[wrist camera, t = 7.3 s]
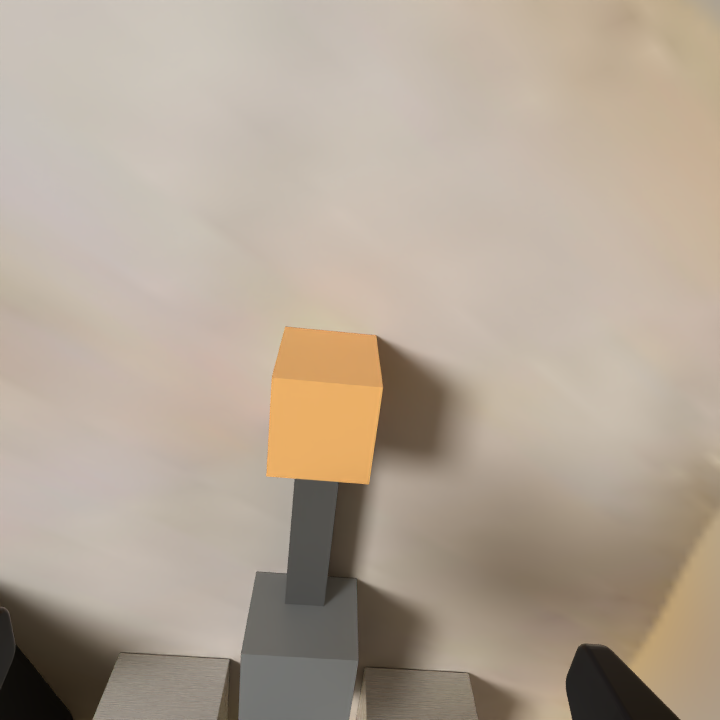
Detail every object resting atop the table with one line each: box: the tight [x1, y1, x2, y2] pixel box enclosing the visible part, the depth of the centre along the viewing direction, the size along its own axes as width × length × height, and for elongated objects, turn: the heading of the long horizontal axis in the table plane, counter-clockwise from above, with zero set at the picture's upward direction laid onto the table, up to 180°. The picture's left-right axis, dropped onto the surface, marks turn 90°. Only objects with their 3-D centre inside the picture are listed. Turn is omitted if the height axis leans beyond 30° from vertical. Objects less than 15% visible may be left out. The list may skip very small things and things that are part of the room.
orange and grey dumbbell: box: [238, 327, 383, 720], centre depth 19 cm, size 16×4×4 cm, turn 174°
